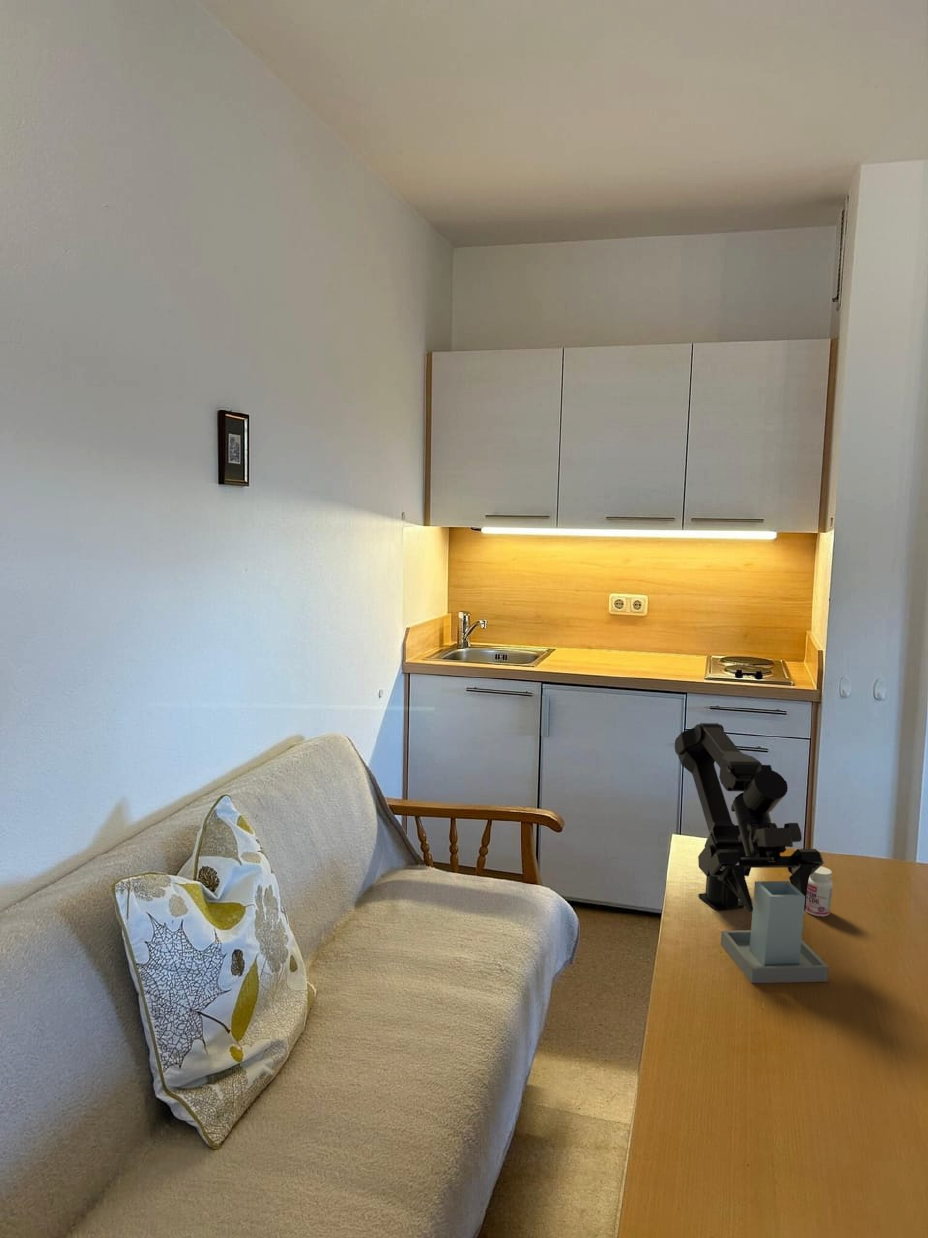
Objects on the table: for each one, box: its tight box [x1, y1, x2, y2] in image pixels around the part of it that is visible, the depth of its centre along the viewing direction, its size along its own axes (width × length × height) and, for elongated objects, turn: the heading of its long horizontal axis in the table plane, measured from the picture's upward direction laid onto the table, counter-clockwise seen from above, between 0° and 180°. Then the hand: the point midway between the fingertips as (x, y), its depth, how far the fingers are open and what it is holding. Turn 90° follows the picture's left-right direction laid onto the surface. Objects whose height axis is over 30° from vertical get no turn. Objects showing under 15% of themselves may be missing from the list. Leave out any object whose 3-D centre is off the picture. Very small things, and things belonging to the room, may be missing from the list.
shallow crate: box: [720, 929, 830, 984], centre depth 153 cm, size 13×13×2 cm
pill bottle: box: [804, 865, 834, 918], centre depth 173 cm, size 5×5×8 cm
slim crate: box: [749, 880, 805, 966], centre depth 152 cm, size 6×6×12 cm
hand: (777, 911), depth 152 cm, fingers open, 9 cm apart
